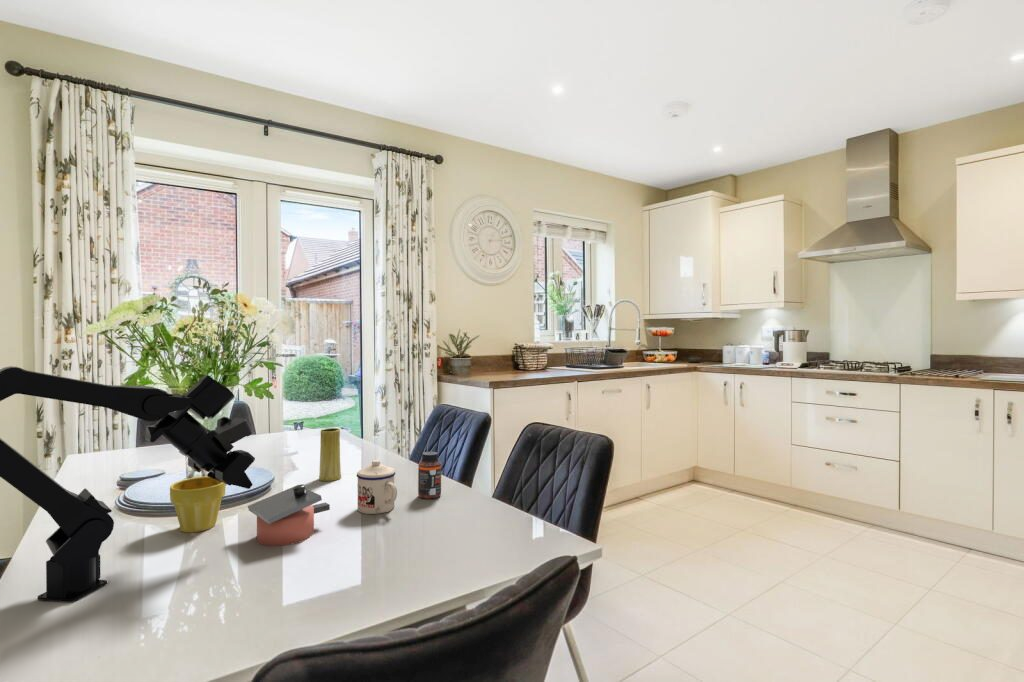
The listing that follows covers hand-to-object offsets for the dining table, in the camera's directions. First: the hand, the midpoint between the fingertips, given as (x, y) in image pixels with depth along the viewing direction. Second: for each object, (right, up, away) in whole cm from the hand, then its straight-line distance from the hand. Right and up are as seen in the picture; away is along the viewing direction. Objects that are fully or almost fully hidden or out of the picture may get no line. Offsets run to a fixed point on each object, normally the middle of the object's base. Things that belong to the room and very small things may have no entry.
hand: (250, 486), depth 107 cm
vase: (0, -11, +47) cm, 48 cm away
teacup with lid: (+21, -11, +20) cm, 31 cm away
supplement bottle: (+31, -11, +31) cm, 46 cm away
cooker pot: (+7, -11, +5) cm, 14 cm away
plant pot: (-15, -11, +8) cm, 21 cm away
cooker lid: (+5, -5, +4) cm, 8 cm away
